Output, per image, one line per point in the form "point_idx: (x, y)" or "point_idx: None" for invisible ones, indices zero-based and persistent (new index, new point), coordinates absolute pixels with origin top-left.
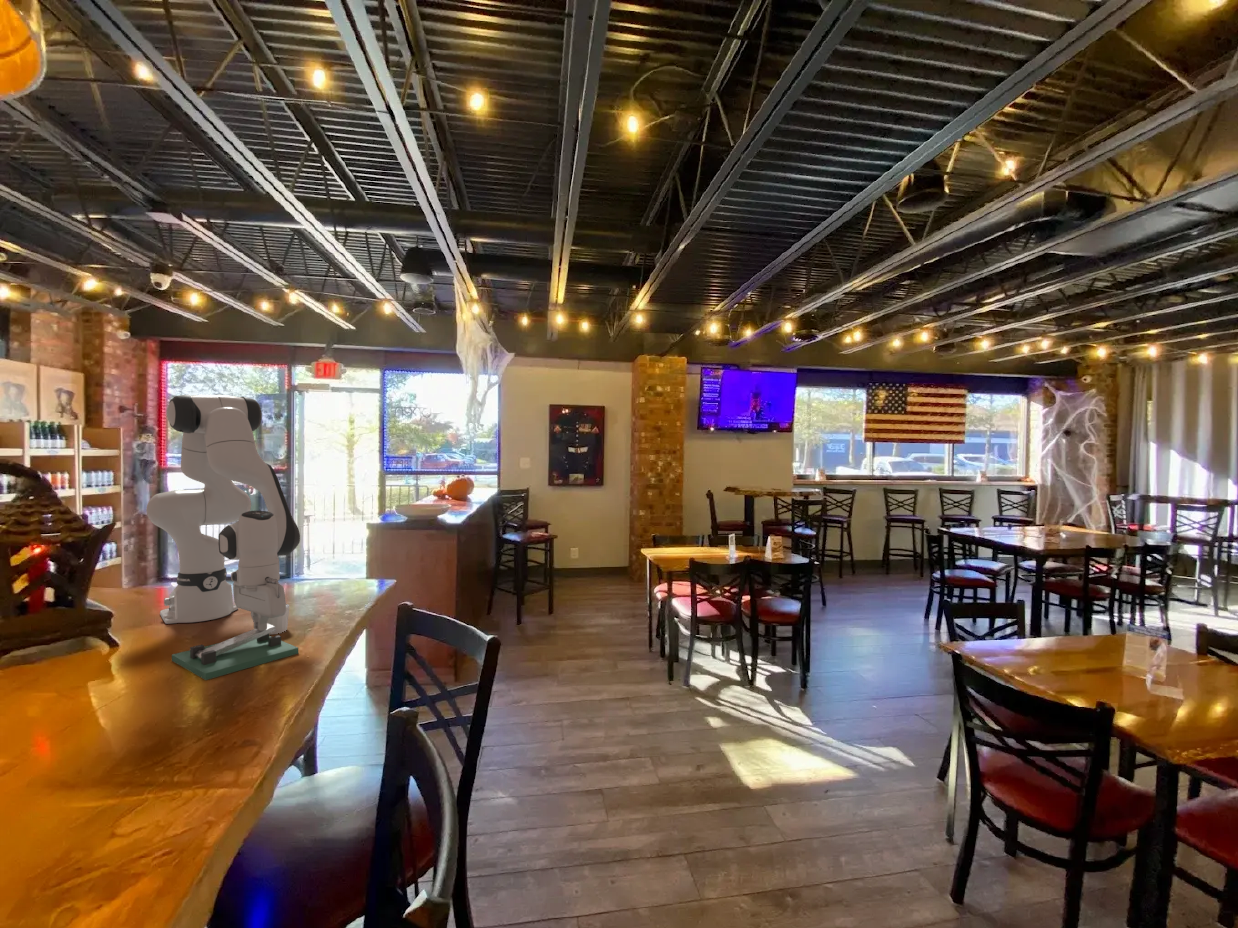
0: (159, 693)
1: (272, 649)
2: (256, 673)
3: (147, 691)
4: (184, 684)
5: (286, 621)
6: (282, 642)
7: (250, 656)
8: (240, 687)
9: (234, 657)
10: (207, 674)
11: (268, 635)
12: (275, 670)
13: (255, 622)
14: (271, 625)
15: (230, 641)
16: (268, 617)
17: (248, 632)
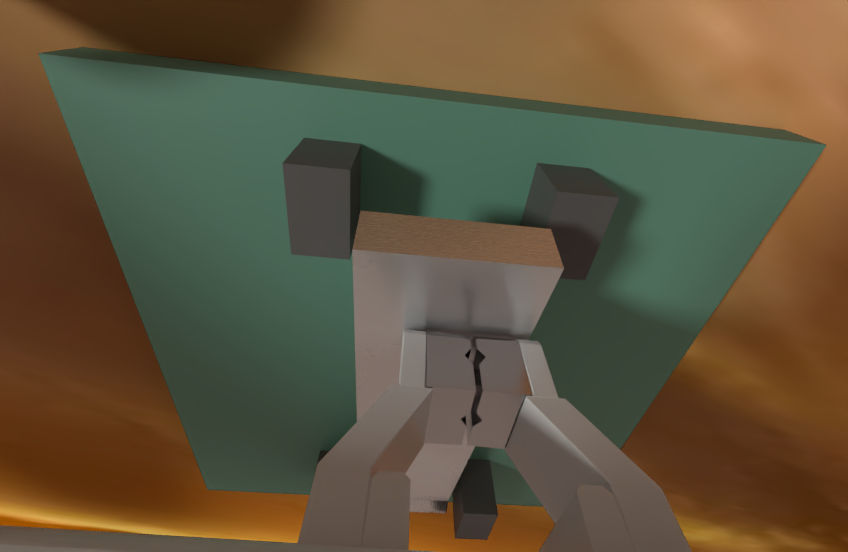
0: (533, 542)
1: (623, 266)
2: (730, 395)
3: (484, 547)
4: (535, 509)
5: None
6: (562, 135)
7: (590, 378)
8: (768, 464)
9: None
10: None
11: (356, 166)
12: (809, 348)
13: (426, 442)
14: (487, 269)
15: None
16: (640, 475)
17: (388, 387)
